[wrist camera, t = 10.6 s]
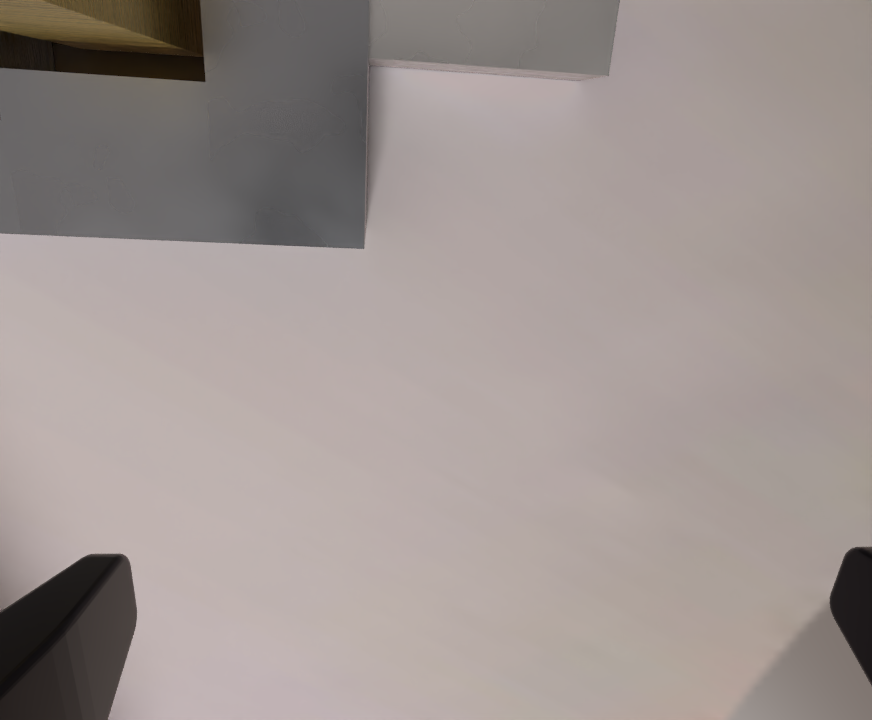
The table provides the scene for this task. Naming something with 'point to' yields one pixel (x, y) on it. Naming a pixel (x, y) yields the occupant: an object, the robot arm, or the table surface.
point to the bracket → (255, 116)
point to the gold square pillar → (109, 24)
